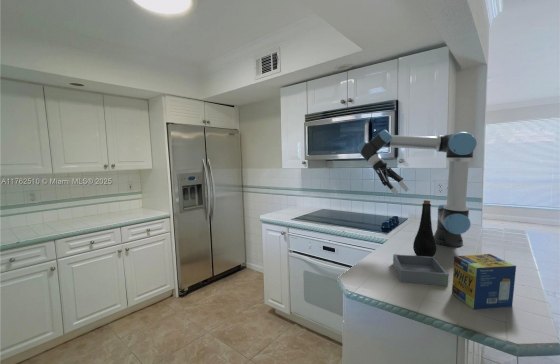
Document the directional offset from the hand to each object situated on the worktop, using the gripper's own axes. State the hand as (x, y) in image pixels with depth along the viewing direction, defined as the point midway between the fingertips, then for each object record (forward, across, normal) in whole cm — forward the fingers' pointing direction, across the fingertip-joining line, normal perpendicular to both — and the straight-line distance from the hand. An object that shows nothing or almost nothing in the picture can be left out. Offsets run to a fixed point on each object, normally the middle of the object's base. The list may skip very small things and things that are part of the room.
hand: (402, 191), depth 141 cm
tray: (+36, +22, -11) cm, 44 cm away
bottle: (+33, 0, -15) cm, 36 cm away
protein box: (+53, +26, +6) cm, 60 cm away
